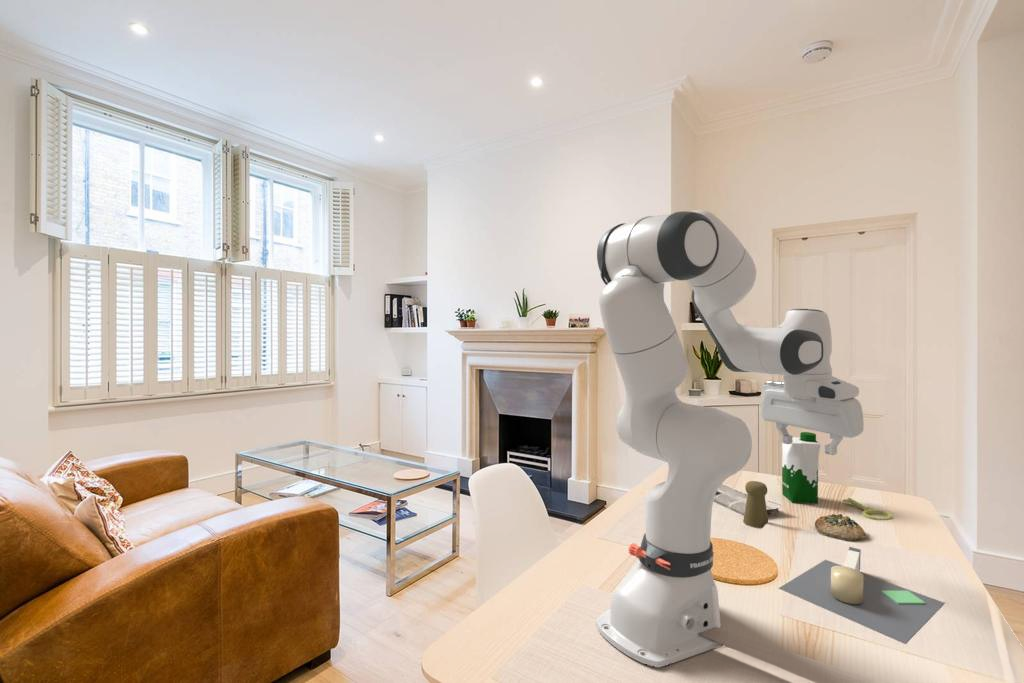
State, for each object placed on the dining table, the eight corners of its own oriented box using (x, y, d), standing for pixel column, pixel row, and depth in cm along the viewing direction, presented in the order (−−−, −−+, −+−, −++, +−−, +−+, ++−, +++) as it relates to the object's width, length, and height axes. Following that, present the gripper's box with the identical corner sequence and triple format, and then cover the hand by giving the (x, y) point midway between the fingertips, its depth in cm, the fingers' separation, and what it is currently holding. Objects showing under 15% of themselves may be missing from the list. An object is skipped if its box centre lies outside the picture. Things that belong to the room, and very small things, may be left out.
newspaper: (669, 482, 164) (669, 471, 163) (699, 478, 168) (699, 468, 168) (753, 522, 130) (753, 509, 130) (788, 516, 135) (788, 503, 135)
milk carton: (822, 505, 141) (824, 437, 140) (789, 503, 142) (790, 436, 142) (808, 494, 150) (809, 430, 149) (777, 493, 151) (778, 429, 150)
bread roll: (825, 519, 131) (828, 502, 130) (873, 540, 122) (876, 521, 121) (804, 530, 125) (807, 512, 124) (852, 553, 116) (856, 534, 115)
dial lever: (861, 607, 87) (862, 582, 87) (828, 597, 91) (829, 573, 90) (869, 572, 100) (869, 550, 99) (840, 564, 103) (840, 543, 103)
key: (848, 504, 143) (848, 496, 143) (895, 519, 132) (895, 511, 132) (832, 508, 140) (832, 500, 140) (879, 524, 129) (880, 516, 129)
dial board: (905, 652, 78) (905, 641, 78) (778, 595, 94) (778, 586, 94) (945, 610, 89) (945, 600, 89) (825, 566, 106) (826, 557, 106)
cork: (771, 528, 125) (772, 486, 125) (746, 527, 126) (747, 485, 126) (764, 519, 131) (765, 479, 131) (740, 517, 132) (741, 478, 132)
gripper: (753, 381, 111) (754, 440, 112) (849, 393, 93) (849, 463, 94) (771, 377, 114) (772, 435, 115) (868, 389, 95) (868, 457, 97)
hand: (808, 448), depth 104 cm, fingers open, 8 cm apart
